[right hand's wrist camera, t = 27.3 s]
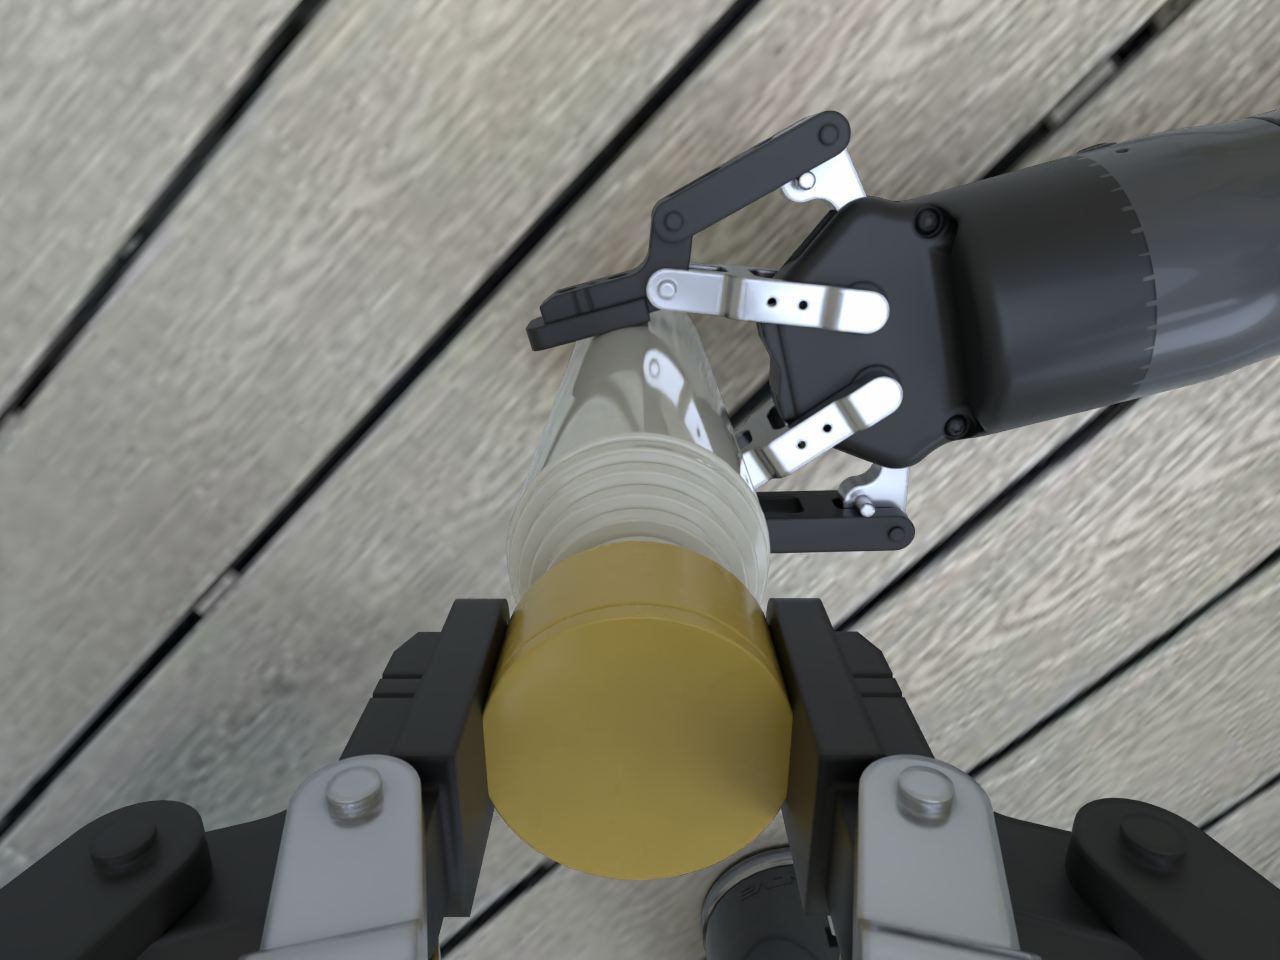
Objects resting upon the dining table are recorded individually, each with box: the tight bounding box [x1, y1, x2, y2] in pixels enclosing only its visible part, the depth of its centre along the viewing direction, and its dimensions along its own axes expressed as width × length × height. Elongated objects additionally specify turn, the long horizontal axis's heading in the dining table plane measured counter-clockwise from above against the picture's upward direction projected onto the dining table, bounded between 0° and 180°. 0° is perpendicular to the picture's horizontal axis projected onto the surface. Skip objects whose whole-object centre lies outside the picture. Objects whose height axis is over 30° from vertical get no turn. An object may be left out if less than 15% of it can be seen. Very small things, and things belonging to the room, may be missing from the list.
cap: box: [483, 540, 793, 880], centre depth 11 cm, size 4×4×2 cm
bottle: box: [506, 310, 770, 606], centre depth 22 cm, size 5×5×23 cm
